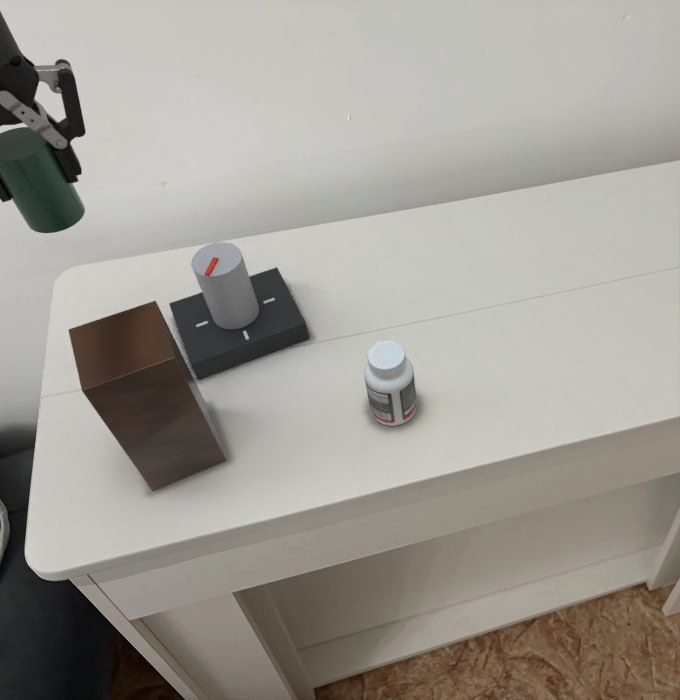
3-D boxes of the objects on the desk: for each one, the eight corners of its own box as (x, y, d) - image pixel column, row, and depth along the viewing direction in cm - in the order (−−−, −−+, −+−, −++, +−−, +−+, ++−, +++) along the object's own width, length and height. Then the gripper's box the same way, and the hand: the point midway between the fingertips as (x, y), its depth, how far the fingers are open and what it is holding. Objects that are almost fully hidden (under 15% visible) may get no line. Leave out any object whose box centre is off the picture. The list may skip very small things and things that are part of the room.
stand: (152, 491, 75) (81, 391, 61) (137, 434, 79) (67, 329, 66) (227, 460, 77) (175, 357, 63) (207, 407, 82) (155, 300, 68)
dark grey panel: (198, 380, 84) (190, 363, 82) (176, 319, 91) (168, 302, 88) (309, 338, 89) (305, 321, 86) (281, 283, 95) (276, 266, 92)
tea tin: (30, 240, 66) (-14, 168, 60) (24, 208, 69) (-19, 136, 62) (89, 223, 67) (51, 151, 61) (80, 192, 70) (43, 121, 64)
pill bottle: (407, 383, 84) (401, 328, 77) (424, 417, 81) (419, 364, 73) (363, 398, 83) (353, 344, 75) (379, 433, 80) (370, 381, 72)
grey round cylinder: (222, 293, 89) (201, 237, 82) (265, 298, 89) (248, 242, 82) (205, 326, 86) (182, 271, 79) (250, 332, 85) (230, 276, 78)
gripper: (32, -38, 57) (113, 145, 70) (-176, 0, 52) (-48, 187, 65) (44, 0, 52) (128, 187, 65) (-181, 44, 48) (-43, 235, 61)
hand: (39, 186), depth 65 cm, fingers closed on tea tin, 5 cm apart
